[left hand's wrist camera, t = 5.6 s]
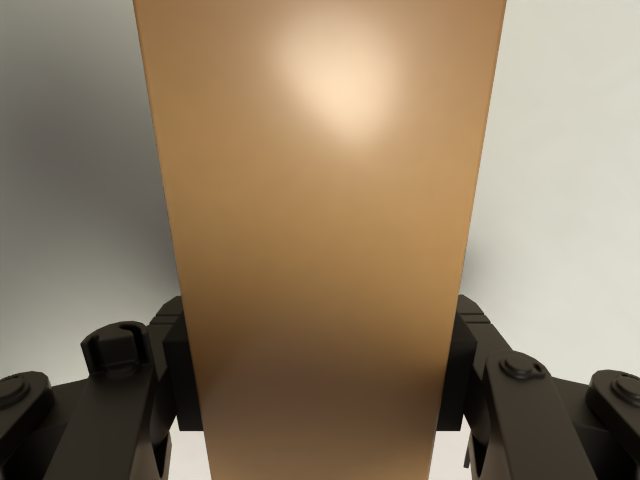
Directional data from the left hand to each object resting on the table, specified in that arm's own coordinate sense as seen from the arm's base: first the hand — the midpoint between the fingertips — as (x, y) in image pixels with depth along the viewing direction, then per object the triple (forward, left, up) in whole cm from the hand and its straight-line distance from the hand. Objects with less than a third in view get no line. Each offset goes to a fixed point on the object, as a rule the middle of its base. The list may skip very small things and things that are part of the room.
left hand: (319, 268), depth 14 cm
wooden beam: (-3, +24, -1) cm, 25 cm away
